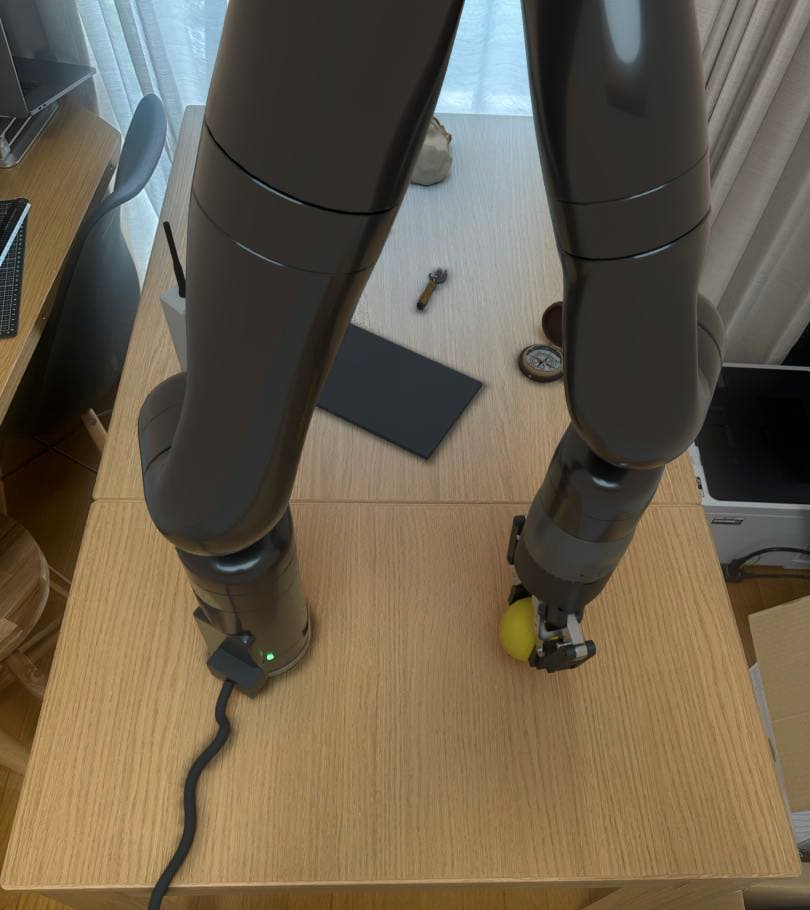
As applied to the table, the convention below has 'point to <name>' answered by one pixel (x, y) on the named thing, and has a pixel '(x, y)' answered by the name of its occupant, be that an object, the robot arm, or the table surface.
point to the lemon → (519, 629)
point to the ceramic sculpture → (433, 155)
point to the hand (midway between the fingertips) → (529, 632)
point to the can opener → (431, 287)
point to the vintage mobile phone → (176, 304)
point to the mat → (395, 392)
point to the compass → (546, 348)
